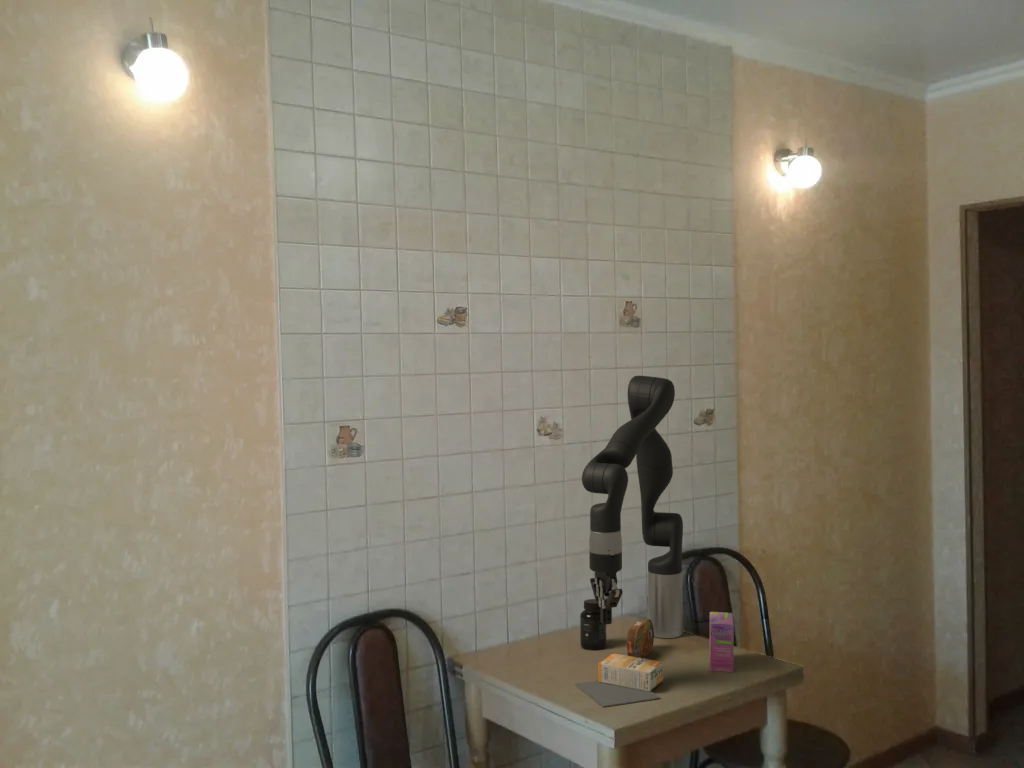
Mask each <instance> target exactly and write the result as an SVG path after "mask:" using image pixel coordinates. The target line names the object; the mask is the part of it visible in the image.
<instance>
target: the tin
mask: <svg viewBox="0 0 1024 768" xmlns="http://www.w3.org/2000/svg"><path fill="white" fill-rule="evenodd" d="M654 640H655V636H654V629H653V624H652V622H651V620H649V619H648V620H647V619H639V620H638V621H636V622H635V623H634V624H632V626H630V628H629V629H628V630H627V634H626V649H627V650H626V651H627V656H631V657H637V658H643V659H646V657H648V655H649V654H650V653H651V652H652V650H653V647H654Z"/></svg>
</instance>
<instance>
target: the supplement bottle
mask: <svg viewBox="0 0 1024 768" xmlns="http://www.w3.org/2000/svg"><path fill="white" fill-rule="evenodd" d="M583 609H584V610H582V611H581V612H580V615H579V619H580V620H579V632H580V633H579V635H580V637H579V641H580V643H579V645H580V647H581V648H582V649H584V650H588V651H600V650H604V649H605V648H606V647H607V624H606V625H604V624H603V623H601V611H600V607H599V602H596V600H595V598H588V599H585V600H584V601H583Z"/></svg>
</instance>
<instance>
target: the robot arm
mask: <svg viewBox="0 0 1024 768" xmlns="http://www.w3.org/2000/svg"><path fill="white" fill-rule="evenodd" d="M675 396H676V390H675V385H674V383H673V381H672V380H671V379H668V378H664V377H658V376H657V377H656V376H648V375H635V376H633V377H632V378H631V379H630V380H629V382H628V385H627V404H628V409H629V416H630V420H629V421H627V422H626V423H624V424H622V425H620V426H619V428H617V430H615V431H614V433H613V434H612V436H611V438H610V439H609V441H608V442H607V444H606V446H605V447H604V448H603V449H602V450H601V451H599V453H597V454H596V455H595V456H594V457H593V458H592V459H590V460H589V462H588V463H587V464H586V465H585V467H584V469H583V471H582V475H581V485H582V486H583V488H584V489H585V490H586V491H587V492H589V493H593V494H602V495H607V499H606V501H605V502H602V503H600V502H599V503H595V504H593V505H592V506H591V507H590V511H589V518H590V519H589V539H588V540H589V541H588V542H589V543H588V544H589V545H588V546H589V549H588V551H589V555H588V556H589V557H588V558H589V569H590V571H592V572H594V577H592V578H589V582H590V585H591V589H592V592H593V596H594V599H595V600H596V602H599V607H600V611H601V623H603V624H604V625H606V626H607V625H611V624H612V623H613V615H612V614H613V608H617V607H618V605H619V602H620V600H621V597H622V595H623V589H622V588H618V587H619V586H618V576H617V573H618V572H620V571H621V570H622V569H623V539H622V531H621V530H622V529H621V528H622V526H621V525H622V524H621V521H622V519H621V515H622V514H621V513H622V507H623V504H624V499H625V495H626V492H627V488H628V484H629V474H628V472H627V468H628V467H630V465H631V464H632V462H633V461H634V459H635V458H636V459H635V461H636V471H637V477H638V483H639V491H640V503H641V504H640V506H641V508H640V510H641V533H642V539H643V541H644V543H645V544H646V545H647V546H651V547H665V548H669V550H668V552H666V553H665V554H663V555H659V556H657V557H652V558H650V559H649V560H648V562H647V598H646V599H647V601H646V603H647V605H646V607H647V609H646V610H647V614H646V615H647V619H646V620H648V619H649V620H651V622H652V624H653V629H654V638H660V639H674V638H679V637H681V636H682V635H683V535H684V522H683V517H682V516H681V514H680V513H677V512H663V511H661V512H660V511H659V512H657V511H655V506H656V504H657V502H658V500H659V499H660V497H661V495H662V494H663V493H664V491H665V490H666V488H667V487H668V485H669V484H670V482H671V481H672V478H673V473H674V472H673V471H674V469H673V459H672V452H671V450H670V447H669V446H668V443H667V442H666V441H665V439H664V438H663V437H662V434H661V435H660V433H659V432H658V431H657V429H656V428H657V426H659V424H660V423H661V421H663V419H664V418H665V417H666V416H667V414H668V413H669V412H670V410H671V409H672V407H673V404H674V401H675Z"/></svg>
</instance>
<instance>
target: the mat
mask: <svg viewBox="0 0 1024 768" xmlns="http://www.w3.org/2000/svg"><path fill="white" fill-rule="evenodd" d="M574 685H575V686H576V687H577V688H578V689H580V690H581V692H583V693H584V694H586V695H587V696H588V697H590V698H591V699H592V700H593V701H594V702H595V703H597V704H598V705H599V704H600V707H602V708H608V707H609V706H610V707H615V706H622V705H629V704H635V703H641V702H647V701H655V700H660V699H661V697H660V696H659V695H657V694H656V693H654V692H653V690H651V691H650V692H649V691H644V690H638V689H633V688H628V687H623V686H618V685H613V684H607V683H602V682H599V679H598V680H591V681H584V682H576V683H575V684H574Z"/></svg>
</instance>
